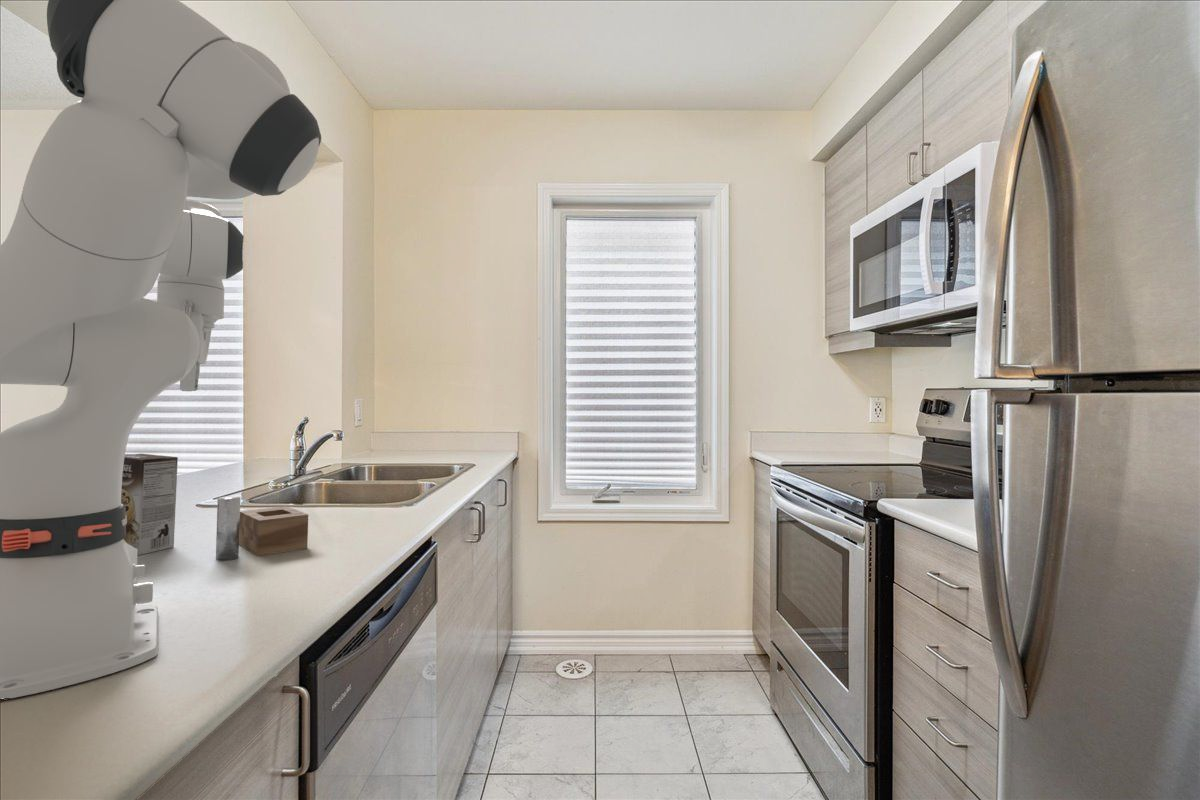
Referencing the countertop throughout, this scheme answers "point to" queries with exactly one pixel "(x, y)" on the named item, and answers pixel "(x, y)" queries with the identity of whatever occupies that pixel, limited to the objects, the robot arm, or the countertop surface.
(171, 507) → the coffee box
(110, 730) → the countertop surface
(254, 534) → the walnut block
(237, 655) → the countertop surface
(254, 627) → the countertop surface
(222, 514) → the steel pin
